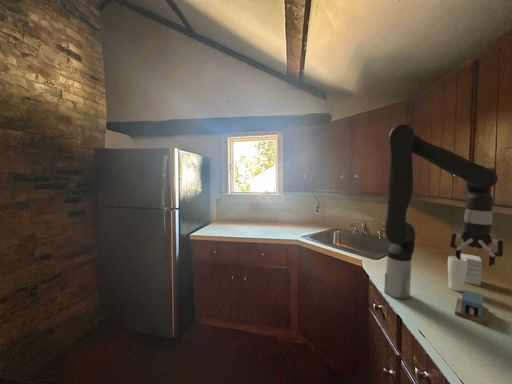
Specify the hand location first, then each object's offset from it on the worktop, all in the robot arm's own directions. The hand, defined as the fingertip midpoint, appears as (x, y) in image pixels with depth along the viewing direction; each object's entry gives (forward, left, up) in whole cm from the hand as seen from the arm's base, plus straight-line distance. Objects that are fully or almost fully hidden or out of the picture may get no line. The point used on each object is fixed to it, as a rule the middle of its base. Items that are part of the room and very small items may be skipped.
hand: (473, 262), depth 85 cm
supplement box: (-2, +33, -20) cm, 39 cm away
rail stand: (0, -1, -20) cm, 20 cm away
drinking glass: (-6, +18, -20) cm, 28 cm away
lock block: (0, -1, -19) cm, 19 cm away
